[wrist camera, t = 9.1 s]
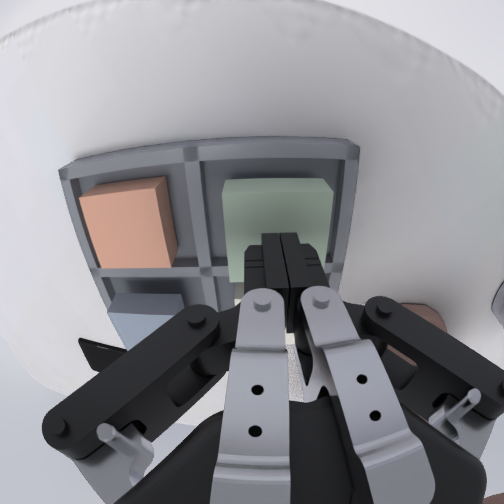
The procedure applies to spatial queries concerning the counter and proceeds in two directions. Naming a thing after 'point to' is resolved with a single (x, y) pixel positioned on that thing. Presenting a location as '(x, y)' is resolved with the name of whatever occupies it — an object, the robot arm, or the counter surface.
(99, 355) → the smartphone
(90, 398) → the robot arm
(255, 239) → the sage key
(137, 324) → the slate key
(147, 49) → the counter surface
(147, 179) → the terracotta key
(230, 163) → the keypad
